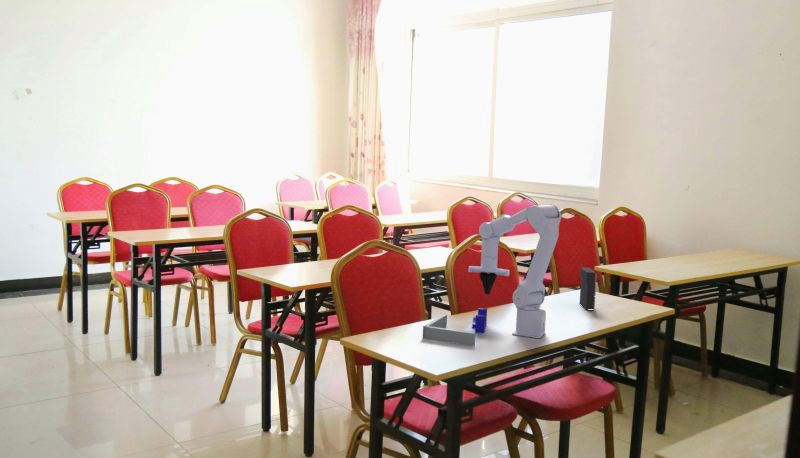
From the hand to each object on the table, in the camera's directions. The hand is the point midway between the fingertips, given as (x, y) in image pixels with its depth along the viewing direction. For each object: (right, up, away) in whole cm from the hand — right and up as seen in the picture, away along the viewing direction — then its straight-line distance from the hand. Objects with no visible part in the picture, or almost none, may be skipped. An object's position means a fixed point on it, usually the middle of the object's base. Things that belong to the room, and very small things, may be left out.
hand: (487, 293), depth 260 cm
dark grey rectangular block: (+42, -8, +29) cm, 52 cm away
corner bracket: (-12, -12, -19) cm, 26 cm away
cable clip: (-4, -11, -9) cm, 15 cm away
